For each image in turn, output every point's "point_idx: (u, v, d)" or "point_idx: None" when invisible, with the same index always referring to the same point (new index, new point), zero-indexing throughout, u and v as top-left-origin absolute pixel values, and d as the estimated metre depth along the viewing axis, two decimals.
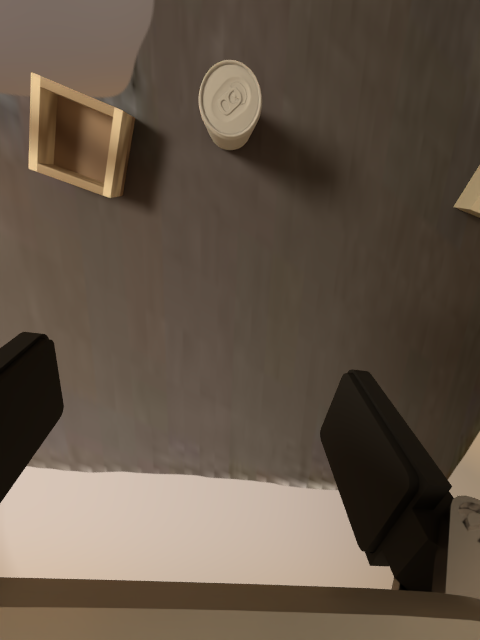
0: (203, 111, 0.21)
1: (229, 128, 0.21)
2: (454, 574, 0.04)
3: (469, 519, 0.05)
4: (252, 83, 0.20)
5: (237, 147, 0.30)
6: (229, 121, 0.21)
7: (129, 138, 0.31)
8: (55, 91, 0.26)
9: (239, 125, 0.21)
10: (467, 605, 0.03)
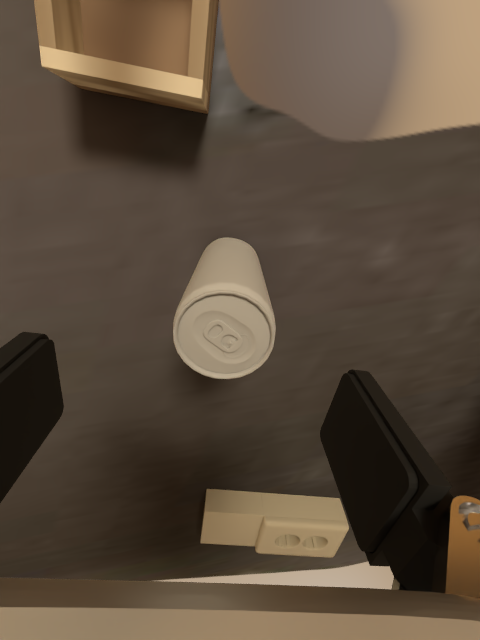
0: (198, 299, 0.12)
1: (186, 341, 0.13)
2: (454, 574, 0.04)
3: (469, 519, 0.05)
4: (252, 362, 0.13)
5: None
6: (196, 340, 0.13)
7: (174, 105, 0.18)
8: None
9: (195, 355, 0.13)
10: (466, 604, 0.03)
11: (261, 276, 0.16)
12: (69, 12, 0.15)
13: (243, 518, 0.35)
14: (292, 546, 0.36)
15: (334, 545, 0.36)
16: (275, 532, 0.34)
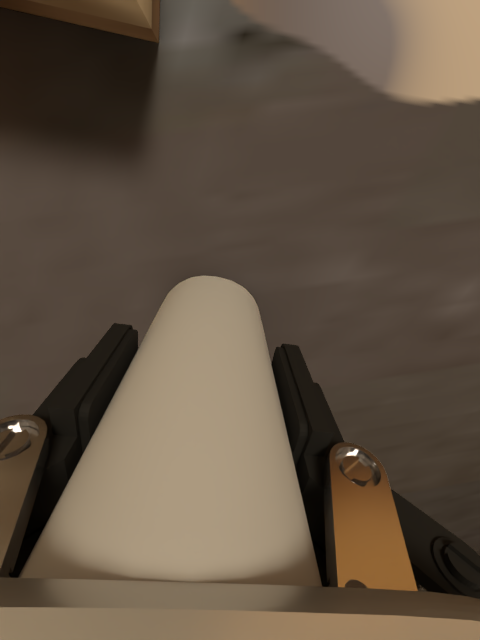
0: None
1: None
2: (339, 524, 0.05)
3: (344, 463, 0.06)
4: None
5: None
6: None
7: (85, 18, 0.09)
8: None
9: None
10: (466, 604, 0.03)
11: (272, 393, 0.07)
12: None
13: None
14: None
15: None
16: None
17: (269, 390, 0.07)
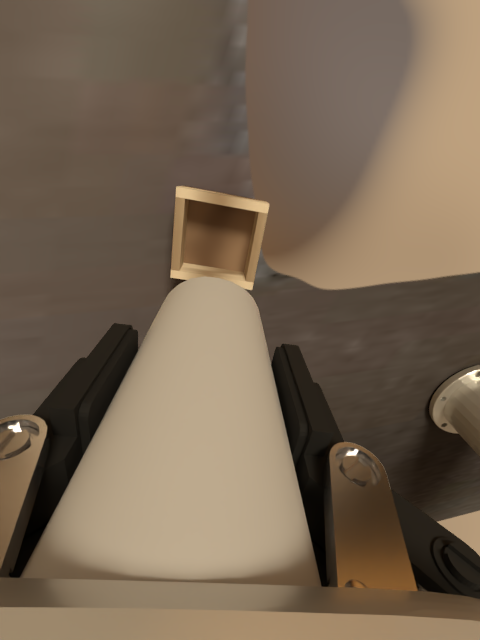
0: None
1: None
2: (339, 524, 0.05)
3: (344, 463, 0.06)
4: None
5: None
6: None
7: None
8: (257, 227, 0.26)
9: None
10: (466, 603, 0.03)
11: (272, 395, 0.07)
12: (183, 246, 0.28)
13: None
14: None
15: None
16: None
17: (269, 391, 0.07)
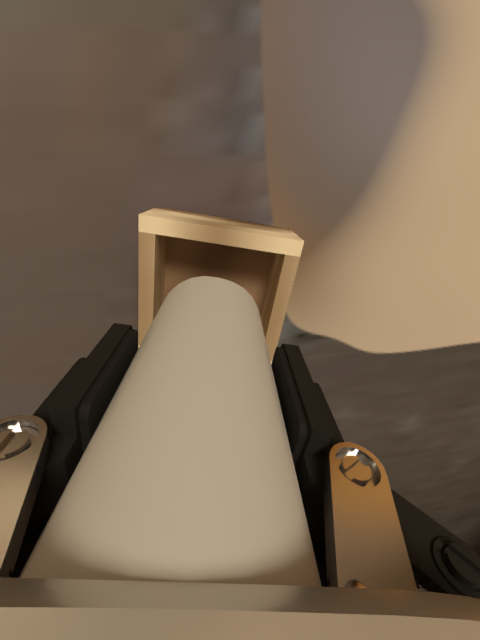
0: None
1: None
2: (339, 524, 0.05)
3: (344, 463, 0.06)
4: None
5: None
6: None
7: None
8: (281, 279, 0.15)
9: None
10: (467, 604, 0.03)
11: (272, 394, 0.07)
12: (159, 305, 0.17)
13: None
14: None
15: None
16: None
17: (269, 391, 0.07)
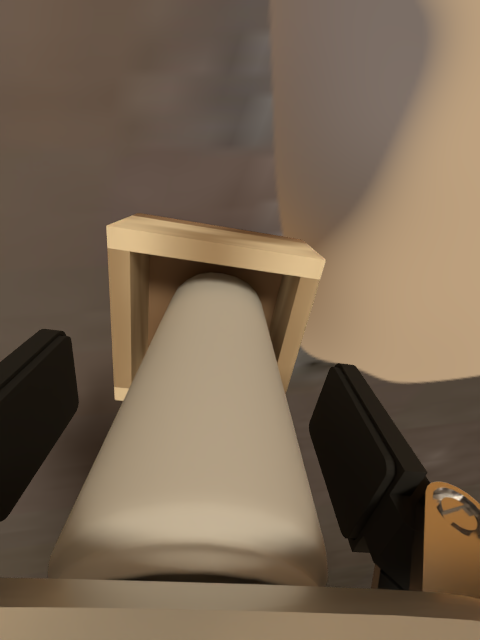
0: None
1: None
2: (430, 560, 0.05)
3: (442, 504, 0.06)
4: None
5: None
6: None
7: None
8: (295, 307, 0.12)
9: None
10: (467, 604, 0.03)
11: (275, 373, 0.08)
12: (141, 335, 0.14)
13: None
14: None
15: None
16: None
17: (272, 371, 0.08)
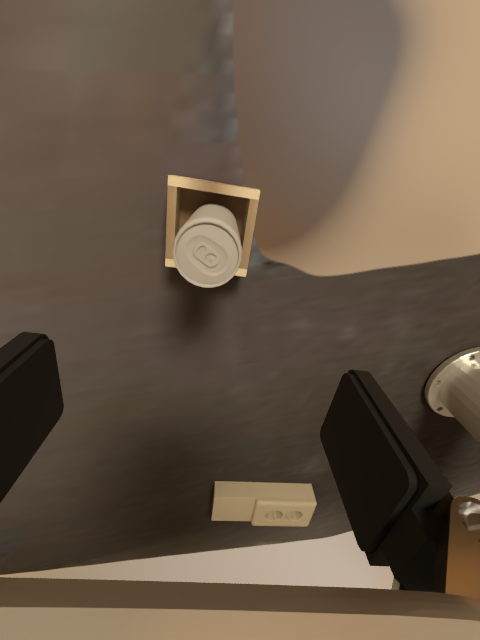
0: (189, 227, 0.18)
1: (182, 259, 0.19)
2: (454, 574, 0.04)
3: (469, 519, 0.05)
4: (227, 274, 0.20)
5: None
6: (188, 258, 0.19)
7: None
8: (248, 214, 0.26)
9: (188, 269, 0.19)
10: (467, 604, 0.03)
11: (234, 223, 0.23)
12: None
13: (242, 500, 0.49)
14: (277, 519, 0.51)
15: (307, 517, 0.51)
16: (265, 509, 0.49)
17: (233, 222, 0.23)
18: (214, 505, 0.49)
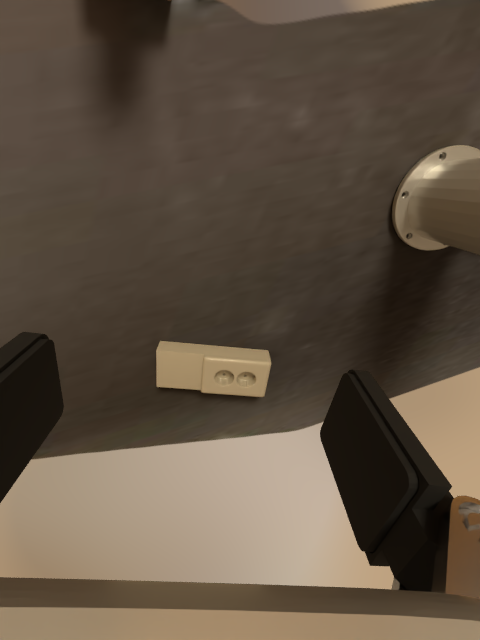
0: None
1: None
2: (454, 574, 0.04)
3: (469, 519, 0.05)
4: None
5: None
6: None
7: None
8: None
9: None
10: (466, 604, 0.03)
11: None
12: None
13: (188, 358, 0.44)
14: (229, 384, 0.46)
15: (262, 382, 0.46)
16: (213, 367, 0.44)
17: None
18: (157, 363, 0.44)
